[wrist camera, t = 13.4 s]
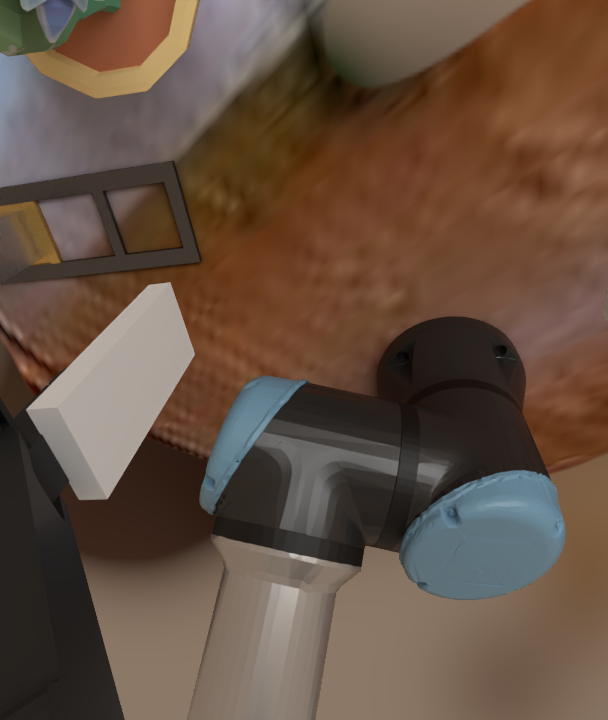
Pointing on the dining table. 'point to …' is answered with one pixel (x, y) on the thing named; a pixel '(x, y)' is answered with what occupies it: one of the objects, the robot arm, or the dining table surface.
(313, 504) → the robot arm
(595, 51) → the dining table surface
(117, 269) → the grey flat rectangular frame
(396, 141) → the dining table surface
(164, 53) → the potted cactus
